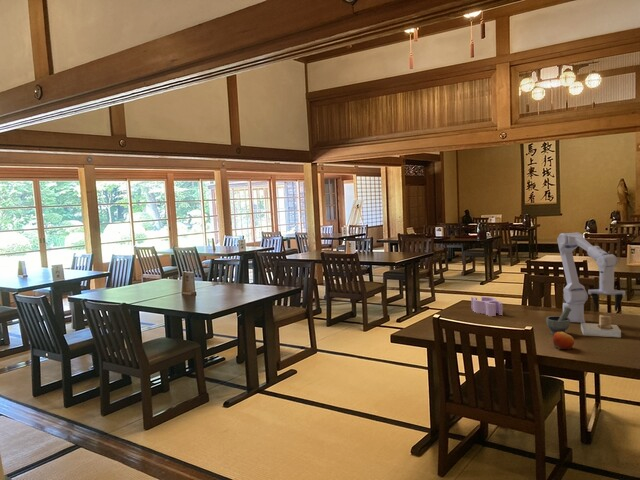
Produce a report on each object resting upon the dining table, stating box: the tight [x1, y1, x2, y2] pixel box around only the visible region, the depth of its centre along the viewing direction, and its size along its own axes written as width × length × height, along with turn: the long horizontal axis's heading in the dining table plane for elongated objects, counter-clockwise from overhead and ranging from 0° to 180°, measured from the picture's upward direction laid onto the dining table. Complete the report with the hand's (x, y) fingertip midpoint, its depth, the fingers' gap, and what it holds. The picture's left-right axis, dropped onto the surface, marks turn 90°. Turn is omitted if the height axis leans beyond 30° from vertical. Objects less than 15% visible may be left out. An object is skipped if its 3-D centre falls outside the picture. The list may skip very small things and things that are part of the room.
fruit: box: [552, 332, 575, 351], centre depth 204 cm, size 8×8×8 cm
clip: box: [470, 295, 504, 317], centre depth 270 cm, size 20×12×7 cm, turn 15°
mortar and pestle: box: [545, 307, 571, 335], centre depth 225 cm, size 11×9×12 cm
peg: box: [598, 314, 612, 329], centre depth 222 cm, size 4×4×8 cm
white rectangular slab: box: [580, 322, 622, 339], centre depth 223 cm, size 14×10×3 cm
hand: (606, 310), depth 226 cm, fingers open, 7 cm apart
